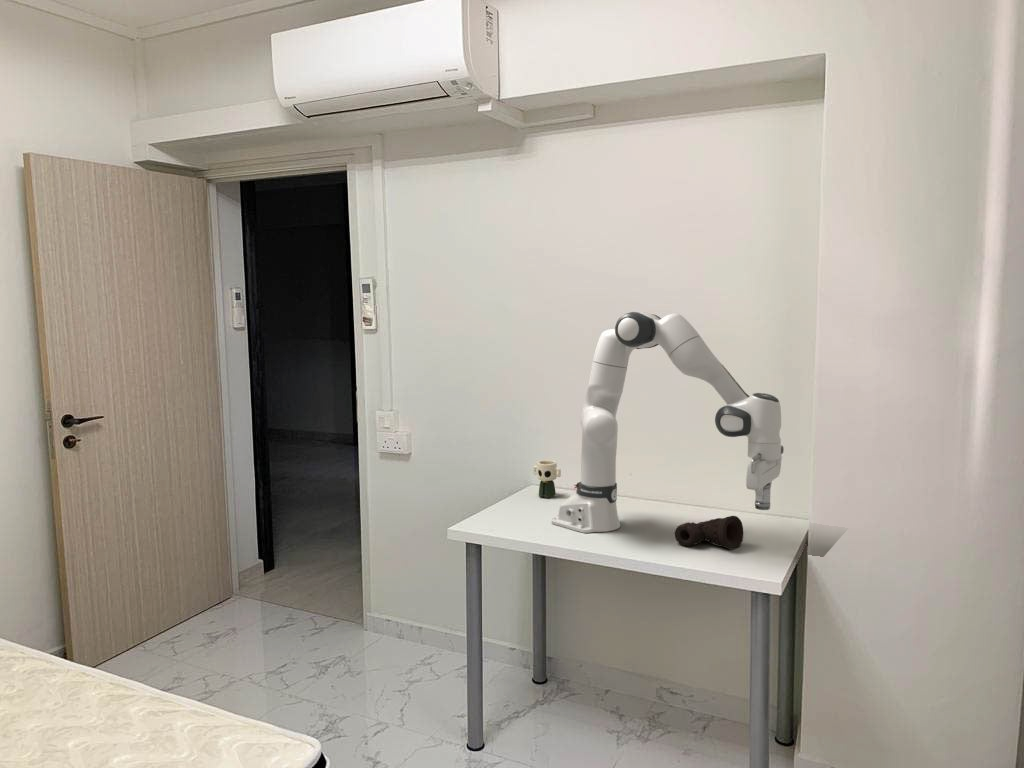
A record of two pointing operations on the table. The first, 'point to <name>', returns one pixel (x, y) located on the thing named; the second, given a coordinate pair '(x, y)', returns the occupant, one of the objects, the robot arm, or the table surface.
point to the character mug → (547, 477)
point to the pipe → (712, 532)
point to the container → (766, 502)
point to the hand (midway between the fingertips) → (762, 498)
